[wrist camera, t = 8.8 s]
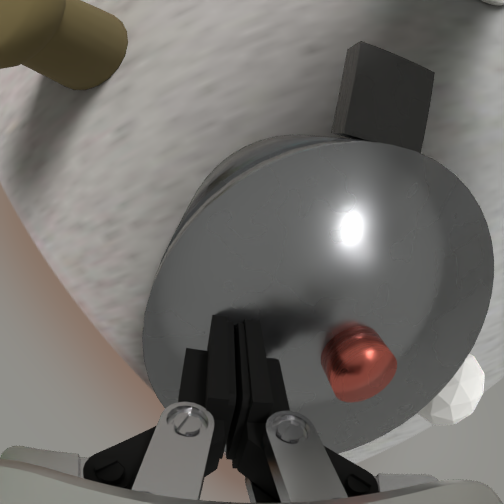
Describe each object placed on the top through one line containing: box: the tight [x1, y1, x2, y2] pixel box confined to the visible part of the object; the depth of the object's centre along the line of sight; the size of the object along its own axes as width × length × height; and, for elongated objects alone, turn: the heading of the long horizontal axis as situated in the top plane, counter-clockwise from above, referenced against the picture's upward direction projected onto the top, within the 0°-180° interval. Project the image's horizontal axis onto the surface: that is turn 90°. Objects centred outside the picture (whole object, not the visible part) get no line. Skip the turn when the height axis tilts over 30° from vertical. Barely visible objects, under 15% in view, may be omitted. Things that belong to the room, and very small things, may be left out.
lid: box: [142, 140, 494, 454], centre depth 12 cm, size 16×16×3 cm
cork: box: [0, 0, 128, 90], centre depth 12 cm, size 6×6×11 cm
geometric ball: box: [418, 354, 485, 425], centre depth 25 cm, size 8×8×8 cm
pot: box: [160, 41, 434, 265], centre depth 18 cm, size 24×16×10 cm, turn 169°
